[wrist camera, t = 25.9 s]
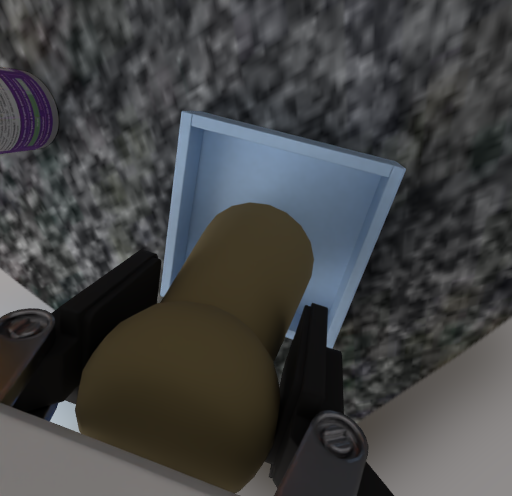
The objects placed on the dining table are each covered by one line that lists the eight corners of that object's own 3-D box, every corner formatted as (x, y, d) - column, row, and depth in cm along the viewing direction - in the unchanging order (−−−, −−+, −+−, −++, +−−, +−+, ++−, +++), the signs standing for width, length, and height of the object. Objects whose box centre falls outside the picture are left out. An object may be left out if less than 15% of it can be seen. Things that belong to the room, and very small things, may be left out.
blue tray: (397, 161, 17) (406, 168, 15) (331, 327, 22) (331, 352, 20) (199, 110, 19) (181, 110, 16) (176, 278, 23) (159, 295, 21)
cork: (339, 246, 16) (350, 467, 6) (273, 328, 19) (206, 577, 9) (233, 178, 16) (67, 289, 6) (182, 270, 18) (5, 456, 8)
